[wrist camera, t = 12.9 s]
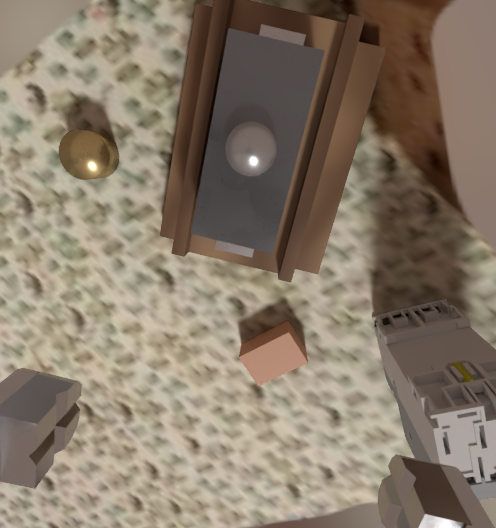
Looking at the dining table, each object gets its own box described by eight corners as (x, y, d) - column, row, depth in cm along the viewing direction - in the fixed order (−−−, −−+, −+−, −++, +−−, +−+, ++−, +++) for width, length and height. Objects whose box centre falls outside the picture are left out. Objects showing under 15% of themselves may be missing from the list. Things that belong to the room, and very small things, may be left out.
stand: (166, 231, 37) (129, 255, 28) (201, 13, 31) (169, -48, 22) (315, 268, 37) (328, 304, 28) (379, 54, 31) (422, 11, 22)
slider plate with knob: (243, 24, 24) (233, -19, 18) (323, 42, 24) (337, 5, 18) (201, 242, 29) (182, 263, 23) (267, 258, 28) (265, 283, 23)
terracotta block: (259, 370, 41) (258, 386, 38) (241, 343, 40) (239, 357, 37) (305, 347, 40) (308, 362, 37) (288, 319, 39) (288, 332, 36)
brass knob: (75, 172, 36) (57, 173, 33) (78, 127, 35) (60, 124, 32) (116, 182, 36) (102, 184, 33) (121, 137, 35) (107, 135, 32)
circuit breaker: (396, 424, 41) (460, 566, 27) (371, 315, 38) (429, 412, 23) (464, 412, 40) (568, 553, 26) (445, 298, 36) (553, 389, 22)
